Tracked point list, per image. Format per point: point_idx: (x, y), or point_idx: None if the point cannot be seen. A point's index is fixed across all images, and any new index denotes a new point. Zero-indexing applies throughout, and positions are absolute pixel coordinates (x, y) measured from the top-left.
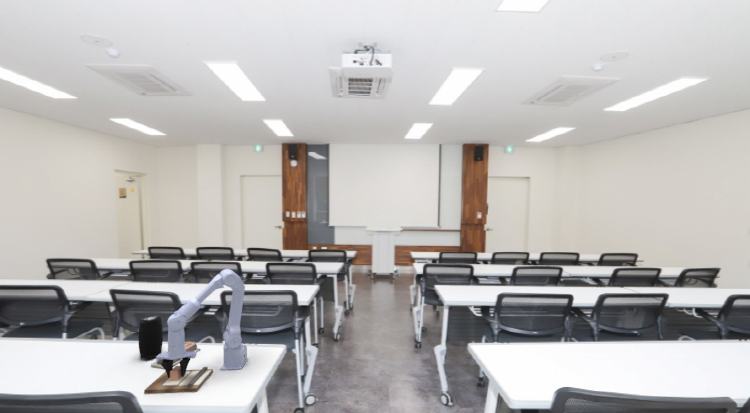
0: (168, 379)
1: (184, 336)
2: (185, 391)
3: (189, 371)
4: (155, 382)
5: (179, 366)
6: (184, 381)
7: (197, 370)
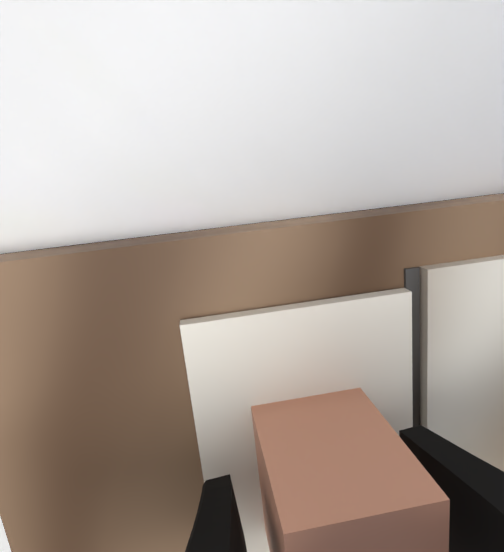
0: None
1: None
2: None
3: (396, 297)
4: (52, 549)
5: (383, 542)
6: None
7: (477, 227)
